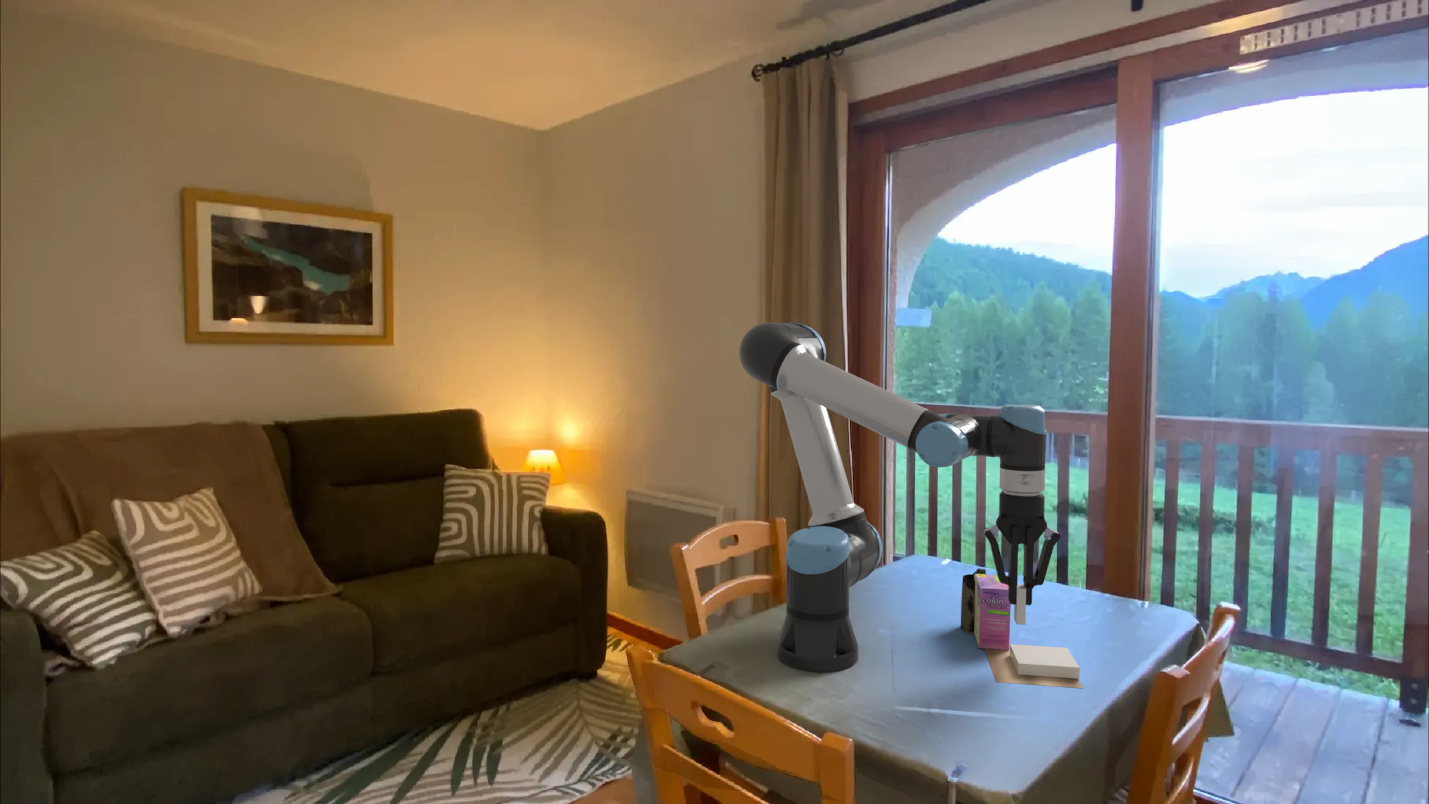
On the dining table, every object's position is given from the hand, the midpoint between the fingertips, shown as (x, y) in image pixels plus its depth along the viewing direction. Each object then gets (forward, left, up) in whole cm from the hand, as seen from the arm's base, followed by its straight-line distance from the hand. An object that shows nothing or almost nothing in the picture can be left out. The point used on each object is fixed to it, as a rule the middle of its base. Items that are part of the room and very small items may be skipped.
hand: (1019, 621), depth 143 cm
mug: (-5, +19, -9) cm, 21 cm away
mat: (+2, 0, -9) cm, 9 cm away
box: (-3, +12, -8) cm, 15 cm away
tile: (-1, 0, -7) cm, 7 cm away
